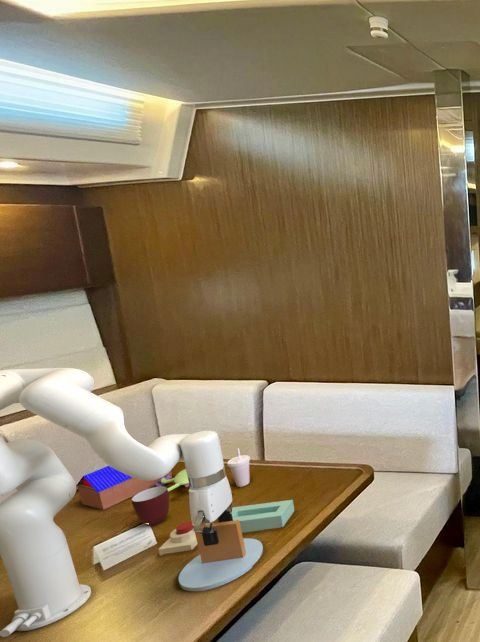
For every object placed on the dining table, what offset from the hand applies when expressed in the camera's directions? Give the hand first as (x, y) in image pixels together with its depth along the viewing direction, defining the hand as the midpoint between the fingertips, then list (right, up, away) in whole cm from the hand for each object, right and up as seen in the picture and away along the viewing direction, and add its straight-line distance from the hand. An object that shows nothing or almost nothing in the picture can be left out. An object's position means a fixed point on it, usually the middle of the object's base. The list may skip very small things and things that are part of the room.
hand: (219, 535), depth 124 cm
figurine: (-43, -2, +35) cm, 55 cm away
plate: (0, -9, +1) cm, 9 cm away
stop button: (-18, -4, +9) cm, 21 cm away
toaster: (-2, -5, +17) cm, 18 cm away
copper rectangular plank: (0, -7, +2) cm, 7 cm away
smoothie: (-24, -1, +39) cm, 46 cm away
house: (-63, -2, +36) cm, 72 cm away
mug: (-37, -6, +19) cm, 42 cm away
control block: (-18, -7, +10) cm, 22 cm away
